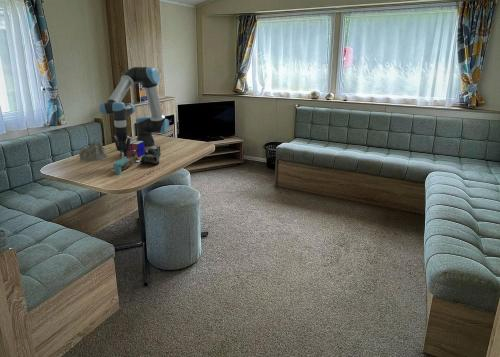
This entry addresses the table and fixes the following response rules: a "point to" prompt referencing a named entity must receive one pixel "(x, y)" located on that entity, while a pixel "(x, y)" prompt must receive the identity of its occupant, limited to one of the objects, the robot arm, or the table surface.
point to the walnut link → (129, 162)
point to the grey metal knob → (134, 155)
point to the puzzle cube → (136, 148)
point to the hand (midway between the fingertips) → (124, 160)
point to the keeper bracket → (119, 165)
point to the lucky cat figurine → (151, 155)
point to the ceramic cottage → (93, 152)
